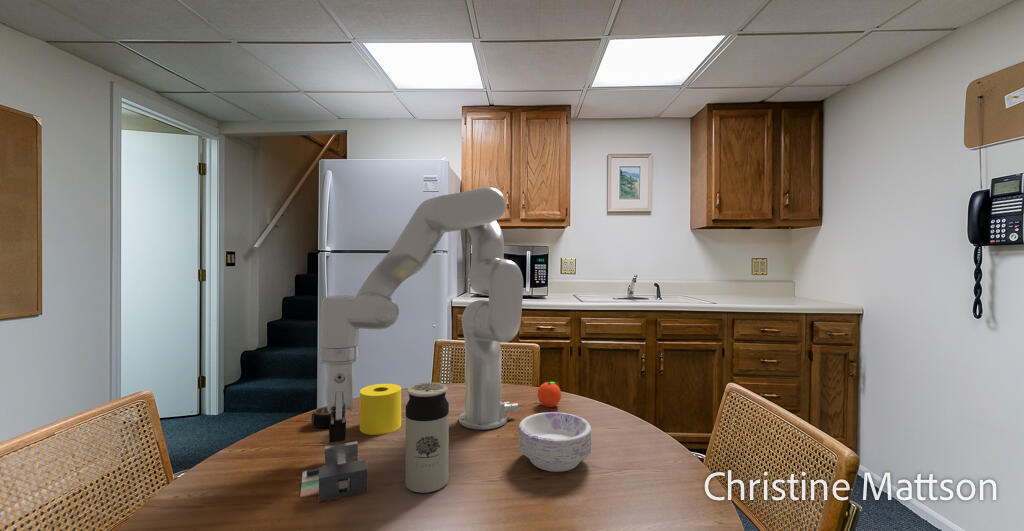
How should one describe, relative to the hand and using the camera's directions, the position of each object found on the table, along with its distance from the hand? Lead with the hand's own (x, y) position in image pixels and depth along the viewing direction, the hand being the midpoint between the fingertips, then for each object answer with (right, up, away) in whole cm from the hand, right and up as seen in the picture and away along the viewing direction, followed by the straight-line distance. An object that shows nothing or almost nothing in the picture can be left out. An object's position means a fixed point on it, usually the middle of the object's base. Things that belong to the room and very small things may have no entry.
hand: (337, 440), depth 89 cm
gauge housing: (+6, -4, -13) cm, 15 cm away
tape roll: (+4, -4, +17) cm, 18 cm away
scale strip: (-1, -4, -10) cm, 10 cm away
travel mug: (+21, -4, -10) cm, 24 cm away
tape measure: (-10, -4, +19) cm, 22 cm away
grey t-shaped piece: (+4, -4, -10) cm, 12 cm away
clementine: (+48, -4, +33) cm, 59 cm away
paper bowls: (+46, -4, -1) cm, 46 cm away
